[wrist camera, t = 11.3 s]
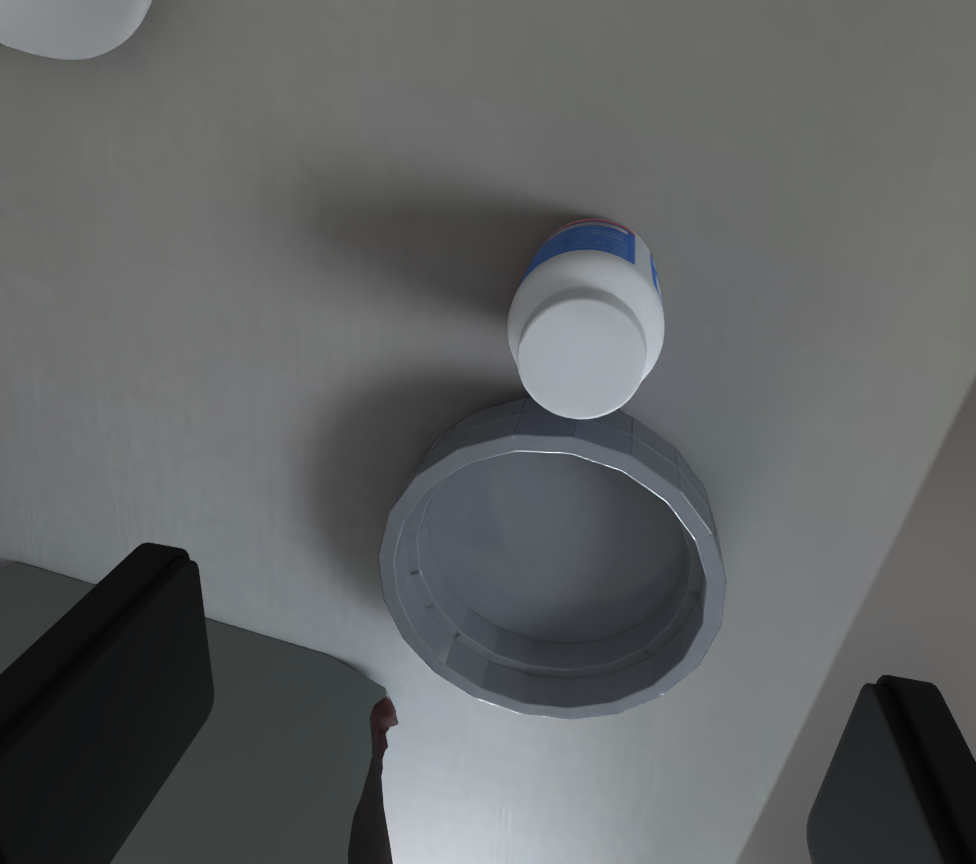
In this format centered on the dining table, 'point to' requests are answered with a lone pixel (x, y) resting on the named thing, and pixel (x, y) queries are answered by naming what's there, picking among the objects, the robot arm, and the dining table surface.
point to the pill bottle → (587, 319)
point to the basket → (248, 747)
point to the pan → (554, 562)
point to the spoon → (69, 26)
